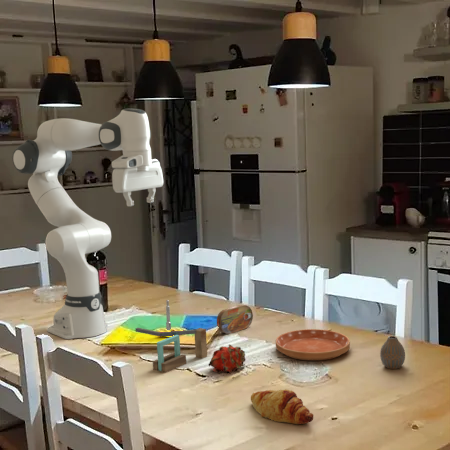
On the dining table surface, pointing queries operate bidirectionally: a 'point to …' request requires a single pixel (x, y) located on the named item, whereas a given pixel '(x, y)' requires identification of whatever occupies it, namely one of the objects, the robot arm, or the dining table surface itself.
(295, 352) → the saucer
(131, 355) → the dining table surface
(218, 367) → the dragon fruit
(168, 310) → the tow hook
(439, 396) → the dining table surface
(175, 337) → the square ring
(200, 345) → the curved rod stand
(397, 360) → the vase
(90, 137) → the robot arm
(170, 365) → the slot block
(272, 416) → the croissant
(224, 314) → the tin
